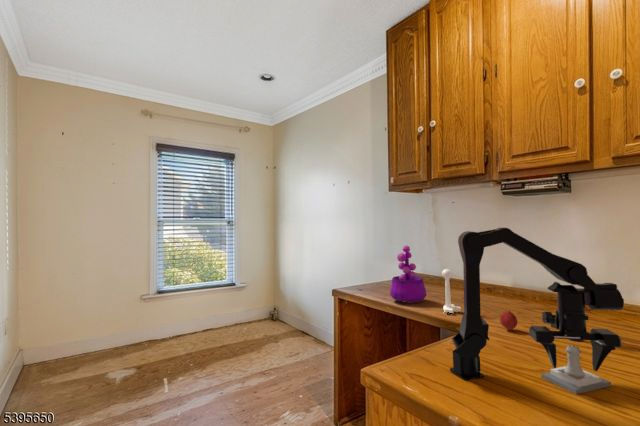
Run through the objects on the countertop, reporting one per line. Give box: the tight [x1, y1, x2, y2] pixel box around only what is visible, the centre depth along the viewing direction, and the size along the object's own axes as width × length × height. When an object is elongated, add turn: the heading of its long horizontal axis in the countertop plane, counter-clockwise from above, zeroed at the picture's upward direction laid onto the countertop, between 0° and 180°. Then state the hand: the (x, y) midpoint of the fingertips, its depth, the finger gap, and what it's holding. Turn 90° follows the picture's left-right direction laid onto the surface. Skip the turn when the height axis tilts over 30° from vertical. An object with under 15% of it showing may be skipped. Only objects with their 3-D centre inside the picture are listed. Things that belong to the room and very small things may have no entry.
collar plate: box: [541, 365, 612, 395], centre depth 85 cm, size 12×9×2 cm
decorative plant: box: [389, 244, 427, 303], centre depth 175 cm, size 19×18×30 cm
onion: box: [499, 309, 518, 331], centre depth 126 cm, size 6×6×8 cm
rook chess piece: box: [564, 344, 585, 380], centre depth 85 cm, size 4×4×8 cm
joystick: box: [441, 268, 462, 314], centre depth 153 cm, size 11×8×20 cm
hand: (574, 368), depth 85 cm, fingers open, 9 cm apart
